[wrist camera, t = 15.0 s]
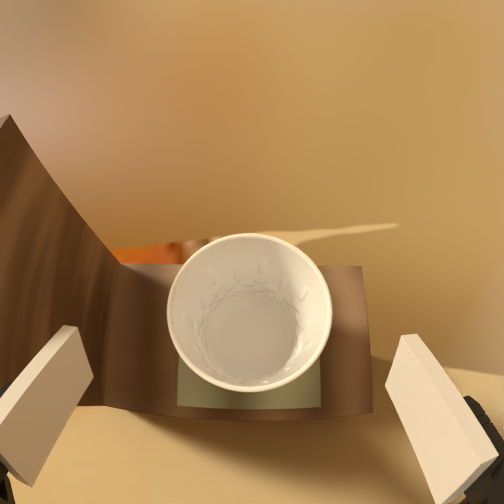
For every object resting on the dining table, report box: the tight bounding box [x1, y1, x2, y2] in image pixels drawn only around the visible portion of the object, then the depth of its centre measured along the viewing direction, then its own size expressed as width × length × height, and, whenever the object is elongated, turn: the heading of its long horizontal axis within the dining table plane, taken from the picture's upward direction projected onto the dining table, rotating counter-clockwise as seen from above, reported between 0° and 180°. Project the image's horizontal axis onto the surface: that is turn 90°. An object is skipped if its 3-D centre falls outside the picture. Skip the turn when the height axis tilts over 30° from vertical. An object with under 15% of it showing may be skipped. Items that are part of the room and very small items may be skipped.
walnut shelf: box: [0, 114, 373, 421], centre depth 18 cm, size 24×13×24 cm, turn 90°
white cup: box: [167, 233, 333, 392], centre depth 18 cm, size 8×8×10 cm
